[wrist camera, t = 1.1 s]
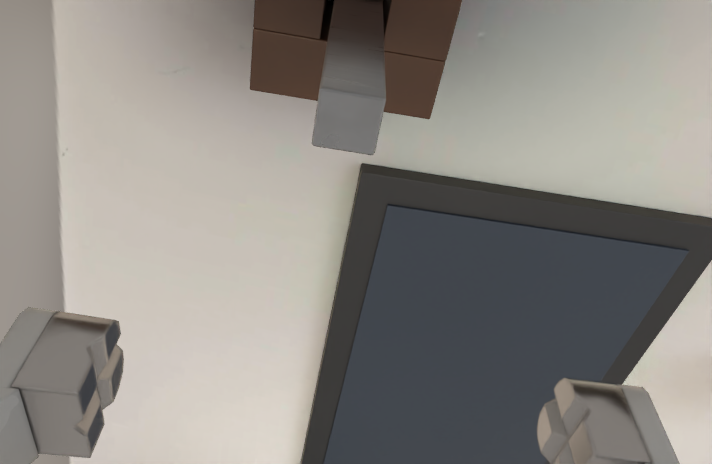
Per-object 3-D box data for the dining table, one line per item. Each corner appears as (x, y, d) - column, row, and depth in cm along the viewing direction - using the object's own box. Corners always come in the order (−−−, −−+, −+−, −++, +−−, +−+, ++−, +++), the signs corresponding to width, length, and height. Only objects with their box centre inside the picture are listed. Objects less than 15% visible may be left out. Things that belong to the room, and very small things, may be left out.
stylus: (341, -44, 29) (319, 87, 17) (381, -37, 29) (386, 99, 17) (335, -3, 30) (311, 146, 19) (374, 4, 30) (374, 156, 19)
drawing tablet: (361, 163, 36) (361, 173, 35) (726, 220, 38) (735, 232, 37) (295, 490, 61) (293, 501, 60) (519, 514, 63) (521, 526, 62)
